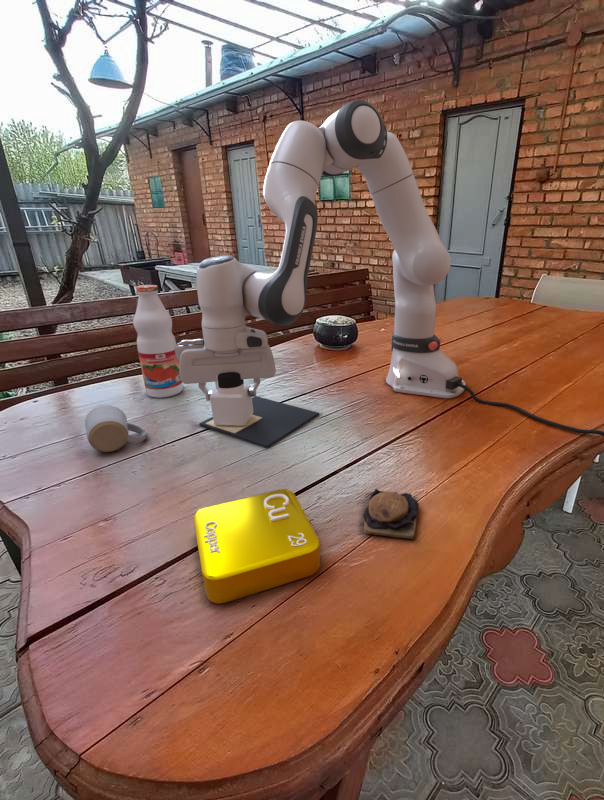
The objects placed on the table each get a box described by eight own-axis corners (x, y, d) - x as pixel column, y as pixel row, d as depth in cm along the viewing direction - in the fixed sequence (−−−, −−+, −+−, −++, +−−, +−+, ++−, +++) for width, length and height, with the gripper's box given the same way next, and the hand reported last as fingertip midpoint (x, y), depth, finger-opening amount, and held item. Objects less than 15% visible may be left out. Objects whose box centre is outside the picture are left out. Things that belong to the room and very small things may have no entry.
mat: (319, 414, 102) (319, 411, 102) (267, 448, 87) (267, 444, 87) (256, 398, 111) (255, 395, 111) (199, 425, 96) (198, 422, 96)
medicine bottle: (253, 412, 100) (248, 364, 95) (245, 426, 94) (239, 375, 89) (224, 411, 101) (217, 363, 96) (213, 425, 94) (205, 374, 89)
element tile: (195, 532, 64) (191, 506, 62) (292, 507, 69) (290, 483, 67) (208, 610, 51) (203, 580, 49) (324, 572, 56) (324, 544, 55)
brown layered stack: (416, 542, 62) (418, 522, 60) (359, 534, 63) (360, 514, 62) (418, 498, 72) (420, 480, 70) (368, 493, 73) (369, 474, 71)
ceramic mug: (91, 458, 83) (83, 423, 80) (89, 441, 89) (81, 408, 86) (150, 445, 88) (144, 412, 85) (144, 430, 94) (138, 398, 91)
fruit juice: (182, 383, 121) (166, 282, 110) (184, 395, 113) (167, 287, 102) (146, 388, 117) (126, 284, 106) (146, 400, 109) (124, 289, 98)
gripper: (171, 344, 84) (181, 407, 90) (274, 338, 89) (278, 399, 95) (174, 336, 90) (184, 396, 96) (271, 331, 95) (275, 388, 100)
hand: (231, 397), depth 95 cm, fingers closed on medicine bottle, 8 cm apart
